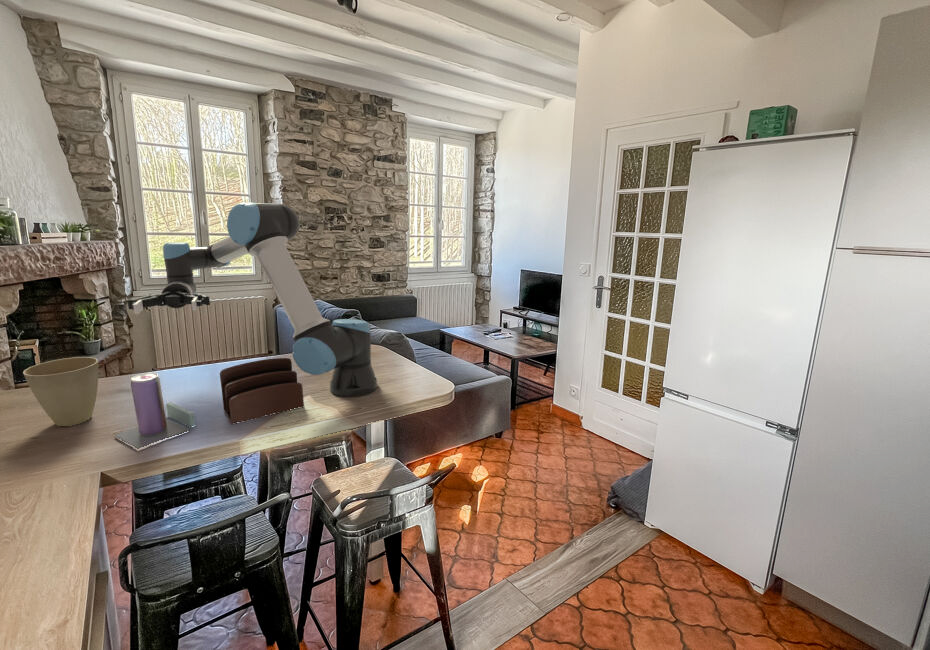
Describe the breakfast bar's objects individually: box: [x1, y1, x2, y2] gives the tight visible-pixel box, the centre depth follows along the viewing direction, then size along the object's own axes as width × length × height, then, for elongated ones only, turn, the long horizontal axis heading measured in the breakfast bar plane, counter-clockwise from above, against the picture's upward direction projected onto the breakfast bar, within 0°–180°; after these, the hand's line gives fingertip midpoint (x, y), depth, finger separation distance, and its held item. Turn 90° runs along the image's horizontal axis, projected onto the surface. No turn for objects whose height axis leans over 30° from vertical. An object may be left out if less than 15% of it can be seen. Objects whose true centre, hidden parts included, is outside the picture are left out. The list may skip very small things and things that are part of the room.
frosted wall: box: [165, 401, 196, 428], centre depth 123 cm, size 12×1×4 cm, turn 58°
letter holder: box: [219, 357, 305, 425], centre depth 130 cm, size 10×20×14 cm, turn 128°
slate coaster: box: [114, 417, 190, 449], centre depth 116 cm, size 12×12×1 cm
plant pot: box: [22, 356, 99, 427], centre depth 121 cm, size 15×15×16 cm
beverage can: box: [130, 372, 167, 436], centre depth 114 cm, size 6×6×15 cm
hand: (165, 307), depth 125 cm, fingers open, 13 cm apart
